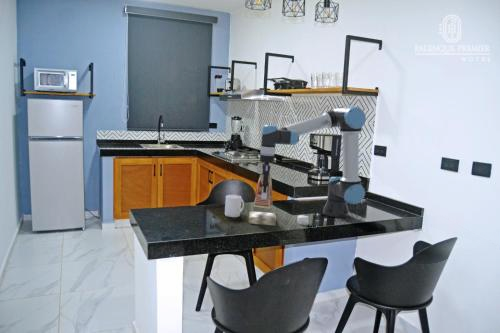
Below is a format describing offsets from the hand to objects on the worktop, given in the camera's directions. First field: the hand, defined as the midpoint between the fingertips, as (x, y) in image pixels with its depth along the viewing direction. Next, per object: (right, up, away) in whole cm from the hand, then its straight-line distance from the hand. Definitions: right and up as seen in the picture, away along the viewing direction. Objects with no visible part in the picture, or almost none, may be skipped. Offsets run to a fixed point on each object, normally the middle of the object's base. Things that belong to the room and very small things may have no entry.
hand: (263, 196), depth 219 cm
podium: (-1, -13, +2) cm, 13 cm away
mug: (-16, -11, +10) cm, 22 cm away
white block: (+21, -15, +3) cm, 26 cm away
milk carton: (0, -5, +1) cm, 5 cm away
